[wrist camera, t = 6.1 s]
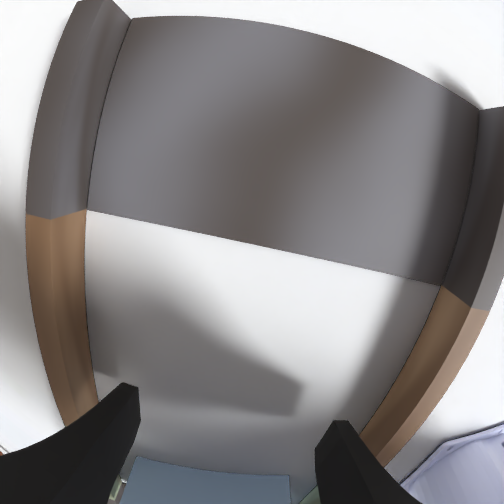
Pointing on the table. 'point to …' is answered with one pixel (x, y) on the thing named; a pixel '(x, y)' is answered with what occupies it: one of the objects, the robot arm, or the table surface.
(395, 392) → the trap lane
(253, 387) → the table surface
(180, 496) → the blue block
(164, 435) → the table surface
